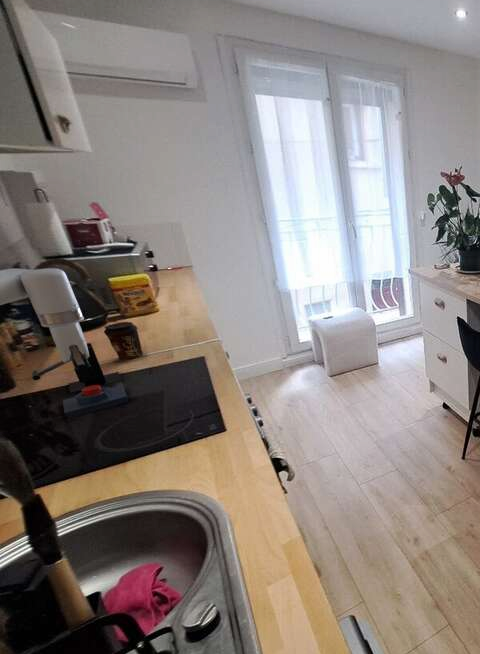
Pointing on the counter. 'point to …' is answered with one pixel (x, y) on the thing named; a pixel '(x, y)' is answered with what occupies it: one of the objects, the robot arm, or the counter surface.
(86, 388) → the igniter button
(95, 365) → the lever bracket
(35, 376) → the lever
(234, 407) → the counter surface
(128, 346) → the coffee cup
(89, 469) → the counter surface
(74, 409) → the igniter
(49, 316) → the robot arm
